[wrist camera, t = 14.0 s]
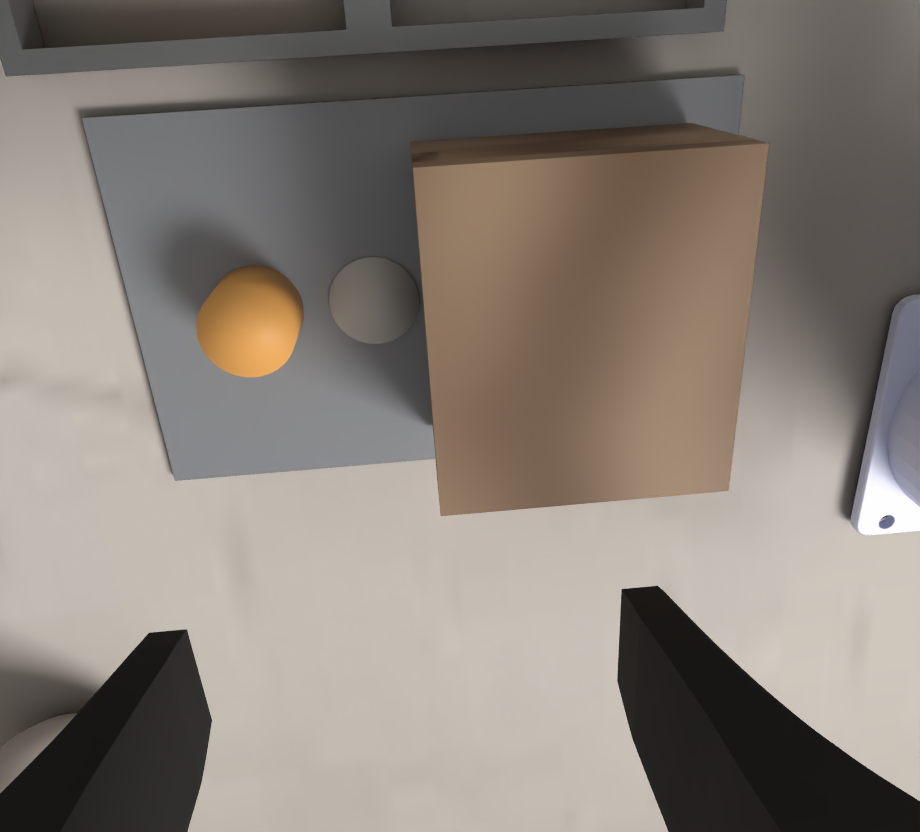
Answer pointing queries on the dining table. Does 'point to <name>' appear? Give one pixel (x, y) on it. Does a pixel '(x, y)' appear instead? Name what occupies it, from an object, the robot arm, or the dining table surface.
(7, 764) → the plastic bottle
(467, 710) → the dining table surface
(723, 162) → the cardboard box
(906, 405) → the robot arm
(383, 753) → the dining table surface
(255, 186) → the board
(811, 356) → the dining table surface
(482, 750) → the dining table surface
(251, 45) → the socket frames
